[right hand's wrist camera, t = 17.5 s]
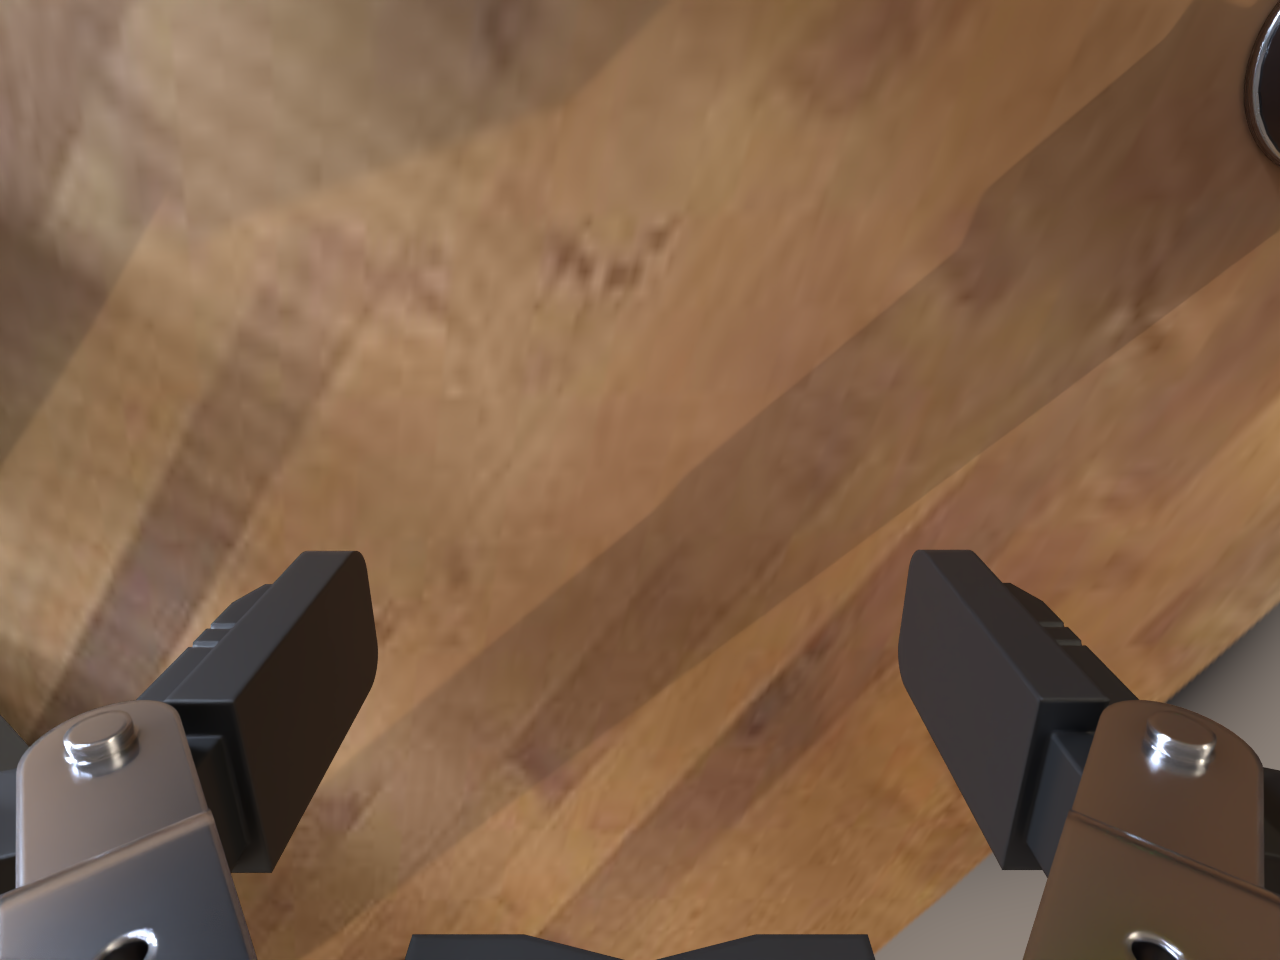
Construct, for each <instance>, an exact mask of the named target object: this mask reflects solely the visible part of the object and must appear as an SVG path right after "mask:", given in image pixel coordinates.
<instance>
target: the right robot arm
mask: <svg viewBox="0 0 1280 960" xmlns="http://www.w3.org/2000/svg"><path fill="white" fill-rule="evenodd" d="M1244 104H1245V113H1246V118H1247V122H1248V125H1249V128H1250V131H1251V133H1252V136H1253V138H1254V140H1255V141H1256V143H1257V145H1258V146H1259V148H1260V149H1261V150H1262V152H1263V153H1264V154H1265V155H1266V156H1267V157H1268V158H1269V159H1270V160H1271V161H1272V162H1274V163H1275V164H1277V165H1278V166H1280V0H1279V2H1278V3H1277V4H1276V6H1275V7H1274V8H1273V10H1272V11H1271V13H1270V15H1269V16H1268V18H1267V19H1266V21H1265V23H1264V25H1263V27H1262V29H1261V30H1260V32H1259V35H1258V37H1257V39H1256V41H1255V44H1254V47H1253V49H1252V52H1251V55H1250V59H1249V63H1248V66H1247V71H1246V77H1245V86H1244ZM898 660H899V668H900V673H901V677H902V681H903V684H904V686H905V688H906V690H907V692H908V694H909V696H910V698H911V700H912V701H913V703H914V705H915V707H916V709H917V711H918V713H919V715H920V716H921V718H922V720H923V722H924V724H925V726H926V728H927V730H928V731H929V733H930V735H931V737H932V739H933V741H934V743H935V745H936V746H937V748H938V750H939V752H940V754H941V756H942V758H943V760H944V761H945V763H946V765H947V767H948V769H949V771H950V773H951V775H952V776H953V778H954V780H955V782H956V784H957V786H958V788H959V790H960V791H961V793H962V795H963V797H964V799H965V801H966V803H967V805H968V806H969V808H970V810H971V812H972V814H973V816H974V818H975V820H976V821H977V823H978V825H979V827H980V829H981V831H982V833H983V835H984V836H985V838H986V840H987V842H988V844H989V846H990V848H991V850H992V851H993V853H994V855H995V857H996V859H997V861H998V863H999V865H1000V866H1001V868H1002V870H1043V871H1044V873H1045V875H1046V876H1047V878H1048V879H1047V882H1046V886H1045V889H1044V892H1043V895H1042V899H1041V902H1040V905H1039V908H1038V912H1037V915H1036V918H1035V921H1034V924H1033V928H1032V931H1031V934H1030V938H1029V941H1028V944H1027V947H1026V950H1025V954H1024V957H1023V960H1280V771H1279V770H1274V769H1269V768H1264V767H1263V766H1262V763H1261V761H1260V759H1259V757H1258V756H1257V754H1256V753H1255V752H1254V750H1253V749H1252V748H1251V747H1250V746H1249V745H1248V744H1247V743H1246V742H1245V741H1244V740H1242V739H1241V738H1240V737H1239V736H1237V735H1236V734H1235V733H1233V732H1232V731H1230V730H1229V729H1227V728H1225V727H1224V726H1222V725H1220V724H1219V723H1217V722H1215V721H1213V720H1211V719H1209V718H1207V717H1205V716H1202V715H1200V714H1198V713H1195V712H1192V711H1190V710H1187V709H1184V708H1181V707H1177V706H1174V705H1170V704H1166V703H1161V702H1155V701H1147V700H1139V699H1138V698H1137V697H1136V696H1135V695H1134V694H1133V693H1132V692H1131V691H1130V690H1129V689H1128V688H1127V687H1126V686H1125V685H1124V684H1123V683H1122V682H1121V681H1120V680H1119V679H1118V678H1117V677H1116V676H1115V675H1114V674H1113V673H1112V672H1111V671H1110V670H1109V669H1108V668H1107V667H1106V665H1105V664H1104V663H1103V662H1102V661H1101V660H1100V659H1099V658H1098V657H1097V656H1096V655H1095V654H1094V653H1093V652H1092V651H1091V650H1090V649H1089V648H1088V647H1087V646H1082V644H1081V640H1080V639H1079V638H1078V637H1077V636H1076V635H1075V634H1074V633H1073V632H1072V631H1071V630H1070V629H1069V628H1068V627H1064V623H1063V622H1062V621H1061V620H1060V619H1059V617H1058V616H1057V615H1056V614H1055V613H1054V612H1053V611H1052V610H1051V609H1050V608H1049V607H1048V606H1047V605H1046V604H1045V603H1044V602H1043V601H1041V600H1039V599H1038V598H1036V597H1034V596H1032V595H1031V594H1029V593H1027V592H1025V591H1023V590H1022V589H1020V588H1018V587H1016V586H1015V585H1013V584H1011V583H1002V582H1001V581H1000V580H999V579H998V578H997V577H996V575H995V574H994V573H993V572H992V571H991V570H990V569H989V568H988V567H987V566H986V565H985V564H984V562H983V561H982V560H981V559H980V558H979V557H978V556H977V555H976V554H975V553H974V552H973V551H971V550H917V551H916V552H915V553H914V554H913V556H912V558H911V561H910V566H909V572H908V579H907V586H906V593H905V600H904V607H903V615H902V622H901V629H900V636H899V644H898ZM377 662H378V645H377V637H376V630H375V623H374V616H373V609H372V602H371V595H370V588H369V581H368V574H367V568H366V563H365V560H364V558H363V556H362V554H361V553H360V552H358V551H305V552H303V553H302V554H300V555H299V556H298V558H297V559H296V560H295V561H294V562H293V563H292V564H291V565H290V566H289V567H288V568H287V569H286V570H285V571H284V573H283V574H282V575H281V576H280V577H279V578H278V579H277V580H276V581H275V582H274V583H273V584H265V585H263V586H261V587H259V588H258V589H256V590H254V591H252V592H251V593H249V594H247V595H245V596H243V597H242V598H240V599H238V600H236V601H234V602H233V603H232V604H231V605H230V606H229V607H228V608H227V609H226V610H225V611H224V612H223V613H222V614H221V615H220V616H219V617H218V618H217V619H216V620H215V621H214V622H213V623H212V624H211V629H206V630H205V631H204V632H203V633H202V634H201V635H200V636H199V637H198V638H197V639H196V640H195V641H194V642H193V647H188V648H187V649H186V650H185V651H184V652H183V653H182V654H181V655H180V656H179V657H178V658H177V659H176V660H175V661H174V662H173V663H172V664H171V665H170V666H169V667H168V668H167V669H166V670H165V671H164V672H163V673H162V674H161V675H160V676H159V677H158V678H157V679H156V680H155V681H154V682H153V683H152V684H151V685H150V686H149V688H148V689H147V690H146V691H145V692H144V693H143V694H142V695H141V696H140V697H139V698H138V699H137V700H133V701H125V702H119V703H114V704H110V705H106V706H103V707H99V708H96V709H93V710H90V711H88V712H85V713H82V714H80V715H78V716H75V717H73V718H71V719H69V720H67V721H65V722H63V723H61V724H60V725H58V726H56V727H55V728H53V729H51V730H50V731H48V732H47V733H45V734H44V735H43V736H41V737H40V738H39V739H38V740H36V741H35V742H34V743H33V744H32V745H31V746H30V747H29V748H28V749H27V750H26V752H25V753H24V754H23V756H22V757H21V759H20V761H19V763H18V766H17V768H15V769H11V770H6V771H1V772H0V960H257V957H256V954H255V950H254V947H253V944H252V941H251V937H250V934H249V931H248V928H247V924H246V921H245V918H244V915H243V912H242V908H241V905H240V902H239V899H238V895H237V892H236V889H235V886H234V882H233V879H232V876H231V873H272V871H273V869H274V868H275V866H276V864H277V862H278V860H279V858H280V856H281V855H282V853H283V851H284V849H285V847H286V845H287V843H288V842H289V840H290V838H291V836H292V834H293V832H294V830H295V829H296V827H297V825H298V823H299V821H300V819H301V817H302V816H303V814H304V812H305V810H306V808H307V806H308V805H309V803H310V801H311V799H312V797H313V795H314V793H315V792H316V790H317V788H318V786H319V784H320V782H321V780H322V779H323V777H324V775H325V773H326V771H327V769H328V767H329V766H330V764H331V762H332V760H333V758H334V756H335V754H336V753H337V751H338V749H339V747H340V745H341V743H342V742H343V740H344V738H345V736H346V734H347V732H348V730H349V729H350V727H351V725H352V723H353V721H354V719H355V717H356V716H357V714H358V712H359V710H360V708H361V706H362V704H363V703H364V701H365V699H366V697H367V695H368V693H369V691H370V690H371V687H372V685H373V682H374V679H375V675H376V670H377ZM405 960H623V959H619V958H615V957H611V956H607V955H603V954H599V953H595V952H591V951H587V950H583V949H579V948H575V947H572V946H568V945H564V944H560V943H556V942H552V941H548V940H544V939H540V938H536V937H532V936H528V935H524V934H412V938H411V941H410V944H409V948H408V951H407V954H406V957H405ZM657 960H875V957H874V954H873V951H872V948H871V944H870V941H869V938H868V934H756V935H752V936H748V937H744V938H740V939H736V940H732V941H728V942H724V943H720V944H716V945H712V946H708V947H705V948H701V949H697V950H693V951H689V952H685V953H681V954H677V955H673V956H669V957H665V958H661V959H657Z"/></svg>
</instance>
